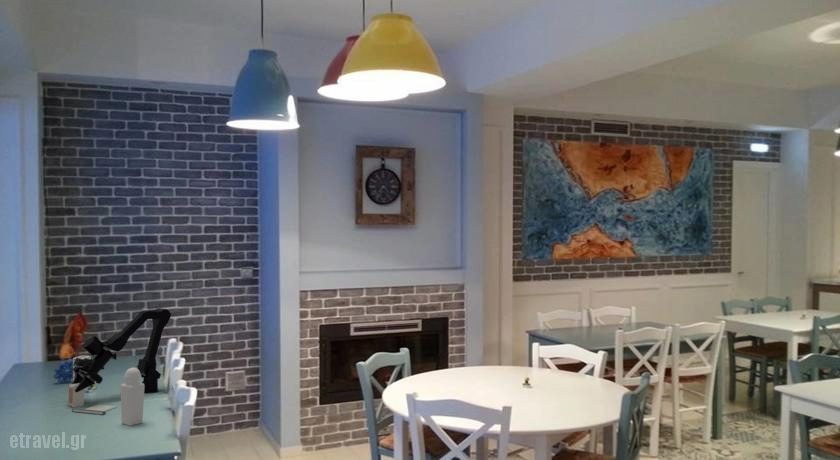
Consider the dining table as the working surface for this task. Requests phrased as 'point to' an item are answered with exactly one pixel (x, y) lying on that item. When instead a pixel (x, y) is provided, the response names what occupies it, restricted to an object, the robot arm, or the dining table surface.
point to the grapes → (64, 371)
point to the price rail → (89, 411)
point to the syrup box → (80, 366)
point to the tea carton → (75, 396)
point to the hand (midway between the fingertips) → (73, 390)
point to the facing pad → (101, 407)
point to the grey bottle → (132, 398)
